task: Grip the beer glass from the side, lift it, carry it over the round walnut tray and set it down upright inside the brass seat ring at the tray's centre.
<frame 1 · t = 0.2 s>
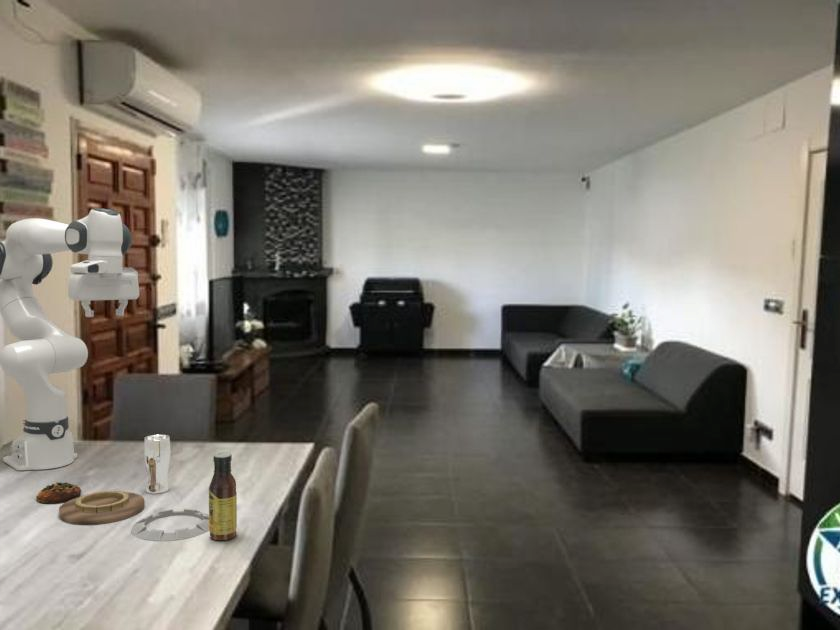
hand: (104, 316, 201), 48 cm above the table, fingers open, 8 cm apart
ring: (174, 528, 173), on the table
beer glass: (157, 490, 199), on the table
round tray: (102, 510, 183), on the table
sauce bottle: (222, 537, 167), on the table
bread roll: (59, 498, 192), on the table
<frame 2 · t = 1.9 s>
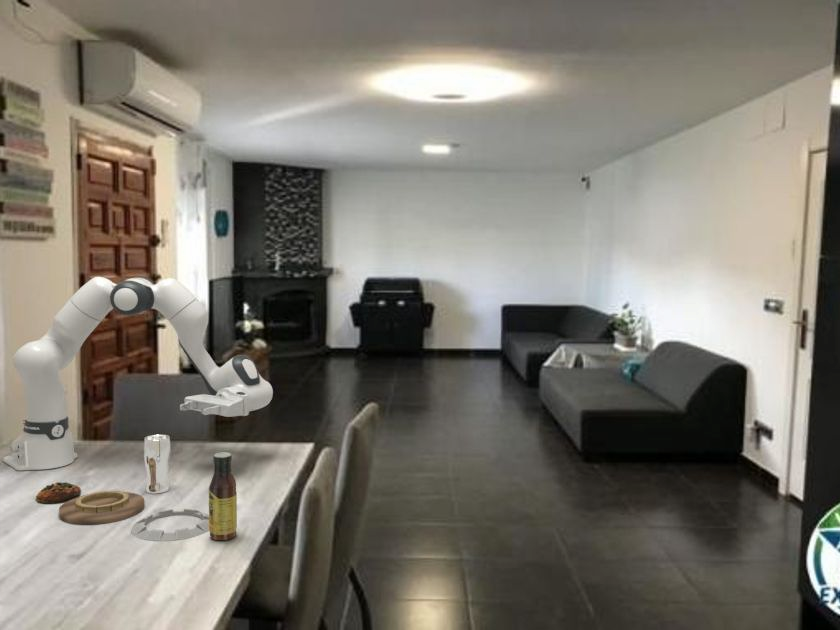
hand: (192, 409, 207), 21 cm above the table, fingers open, 8 cm apart
nothing on the table moved.
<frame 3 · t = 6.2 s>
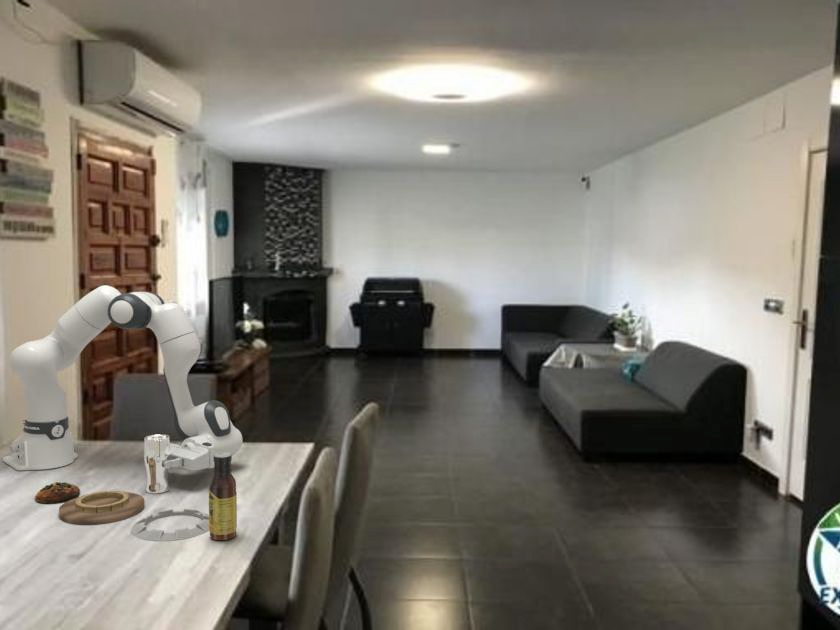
hand: (154, 462, 197), 8 cm above the table, fingers closed on beer glass, 6 cm apart
beer glass: (157, 490, 199), on the table, touching gripper
everything else where it was.
when the fingers open (10 cm above the table, at t = 10.7 s): beer glass stays where it is, resting on round tray.
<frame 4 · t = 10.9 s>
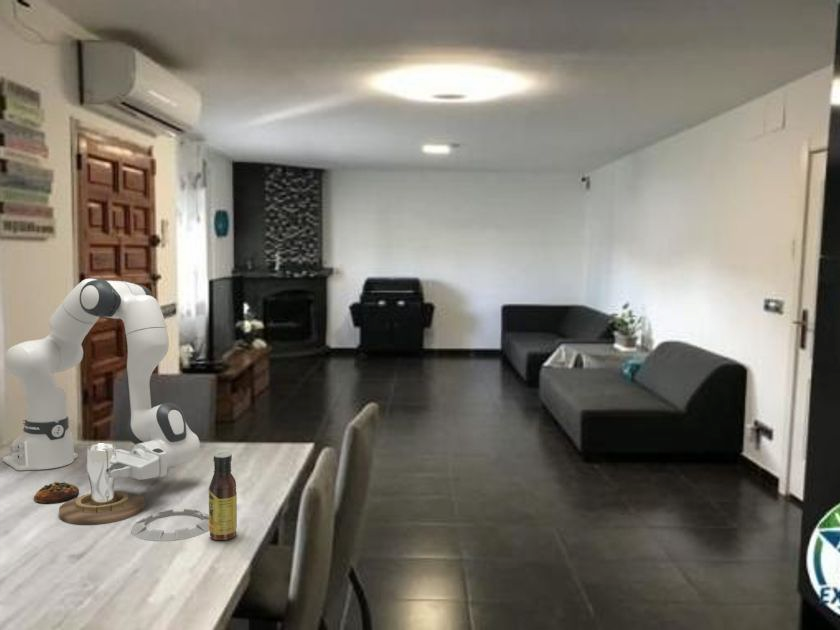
hand: (98, 471, 181), 10 cm above the table, fingers open, 8 cm apart
beer glass: (103, 504, 183), point 1 cm above the table, touching round tray
everything else where it was.
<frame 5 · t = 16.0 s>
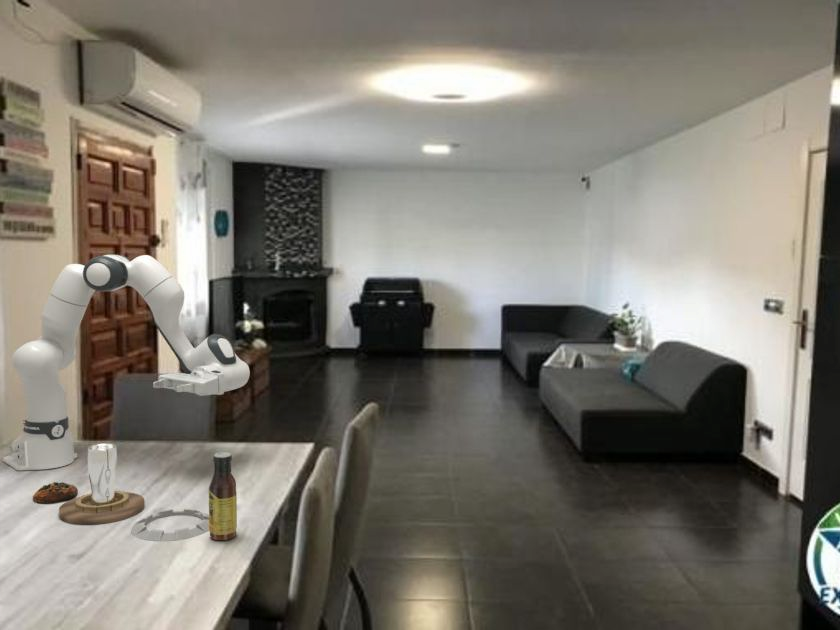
hand: (165, 387, 202), 28 cm above the table, fingers open, 8 cm apart
nothing on the table moved.
at the end: beer glass 0.2 cm off-centre on the round tray, point 1.3 cm above the round tray's base; beer glass tilted 0°; the gripper is holding nothing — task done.
